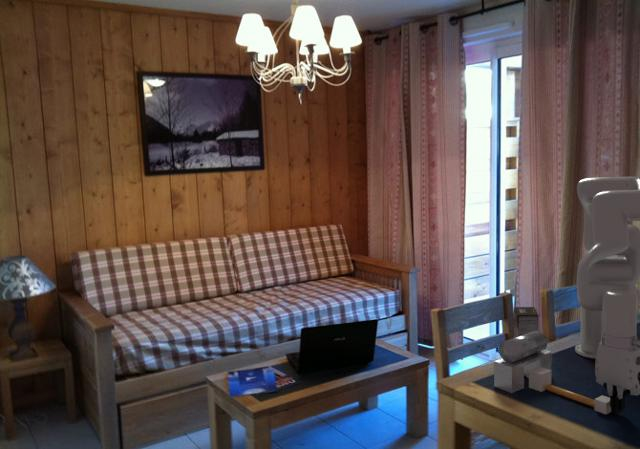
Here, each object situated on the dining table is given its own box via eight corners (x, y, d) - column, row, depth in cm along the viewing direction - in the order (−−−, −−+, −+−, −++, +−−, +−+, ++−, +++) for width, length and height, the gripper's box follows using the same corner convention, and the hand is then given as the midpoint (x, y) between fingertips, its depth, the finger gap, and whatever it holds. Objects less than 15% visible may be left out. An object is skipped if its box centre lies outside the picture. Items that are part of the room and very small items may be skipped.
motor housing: (533, 370, 171) (533, 327, 169) (551, 376, 166) (551, 331, 164) (494, 386, 161) (493, 340, 159) (511, 393, 156) (511, 346, 154)
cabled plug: (534, 381, 163) (533, 364, 162) (614, 409, 143) (614, 391, 143) (524, 385, 160) (524, 368, 160) (604, 415, 141) (605, 396, 140)
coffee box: (513, 354, 185) (513, 306, 183) (534, 354, 183) (534, 306, 181) (517, 364, 176) (517, 314, 174) (539, 365, 175) (539, 314, 173)
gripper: (658, 344, 134) (656, 417, 136) (597, 329, 146) (596, 397, 149) (642, 351, 130) (640, 427, 132) (581, 336, 142) (580, 405, 144)
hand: (617, 411), depth 140 cm, fingers closed
